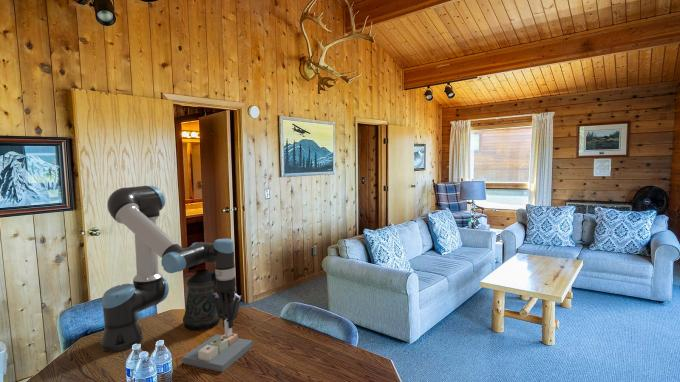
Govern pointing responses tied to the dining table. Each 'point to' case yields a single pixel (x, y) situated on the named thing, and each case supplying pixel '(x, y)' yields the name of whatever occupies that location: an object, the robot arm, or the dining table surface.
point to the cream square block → (208, 353)
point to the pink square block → (230, 338)
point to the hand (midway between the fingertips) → (228, 335)
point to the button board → (219, 355)
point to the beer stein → (201, 302)
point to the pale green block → (220, 344)
